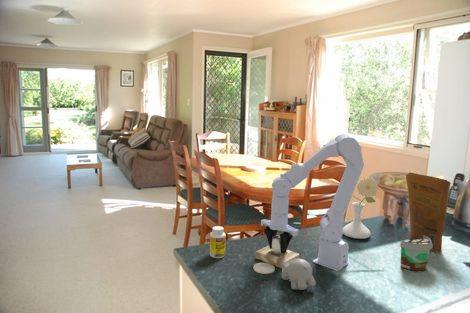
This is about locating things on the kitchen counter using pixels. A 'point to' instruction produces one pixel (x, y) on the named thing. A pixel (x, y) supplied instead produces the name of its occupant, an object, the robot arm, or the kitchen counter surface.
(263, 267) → the coaster
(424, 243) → the food container
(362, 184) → the flower in vase
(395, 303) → the kitchen counter surface
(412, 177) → the pancake mix bag
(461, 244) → the kitchen counter surface
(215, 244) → the supplement bottle
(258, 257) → the beige flat block
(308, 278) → the round bodied animal figurine
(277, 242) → the end plug
